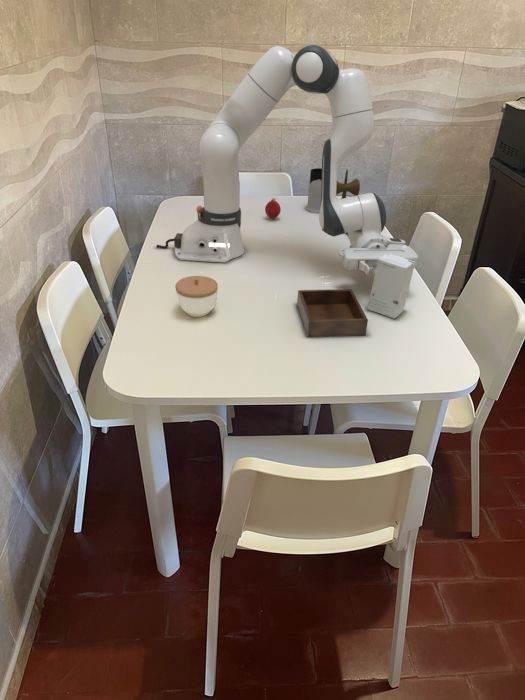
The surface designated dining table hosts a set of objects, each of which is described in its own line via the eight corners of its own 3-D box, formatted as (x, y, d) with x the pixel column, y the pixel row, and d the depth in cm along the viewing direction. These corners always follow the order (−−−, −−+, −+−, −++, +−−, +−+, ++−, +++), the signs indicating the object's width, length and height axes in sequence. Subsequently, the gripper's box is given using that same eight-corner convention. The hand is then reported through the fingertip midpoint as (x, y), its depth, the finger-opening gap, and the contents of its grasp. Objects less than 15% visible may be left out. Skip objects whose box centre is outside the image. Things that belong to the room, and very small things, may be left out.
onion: (278, 222, 197) (279, 201, 192) (263, 221, 198) (264, 199, 193) (281, 217, 202) (282, 196, 197) (266, 216, 203) (267, 195, 198)
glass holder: (305, 211, 208) (307, 172, 200) (308, 200, 220) (311, 163, 212) (327, 213, 207) (331, 174, 199) (329, 202, 219) (333, 165, 210)
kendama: (355, 226, 196) (363, 171, 185) (330, 227, 194) (336, 172, 183) (350, 221, 201) (357, 167, 190) (326, 222, 199) (331, 167, 188)
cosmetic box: (367, 310, 142) (375, 258, 134) (377, 302, 146) (385, 251, 138) (396, 320, 138) (406, 267, 130) (405, 311, 142) (416, 259, 134)
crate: (307, 337, 130) (308, 321, 127) (296, 304, 143) (298, 290, 141) (365, 335, 131) (368, 319, 129) (349, 303, 145) (351, 289, 142)
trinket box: (185, 325, 133) (183, 291, 128) (171, 306, 141) (169, 274, 135) (224, 316, 137) (224, 283, 132) (208, 298, 145) (207, 267, 140)
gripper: (338, 240, 147) (350, 260, 136) (409, 239, 149) (427, 259, 138) (336, 261, 151) (347, 282, 139) (405, 260, 153) (422, 281, 141)
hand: (387, 271), depth 139 cm, fingers open, 8 cm apart
